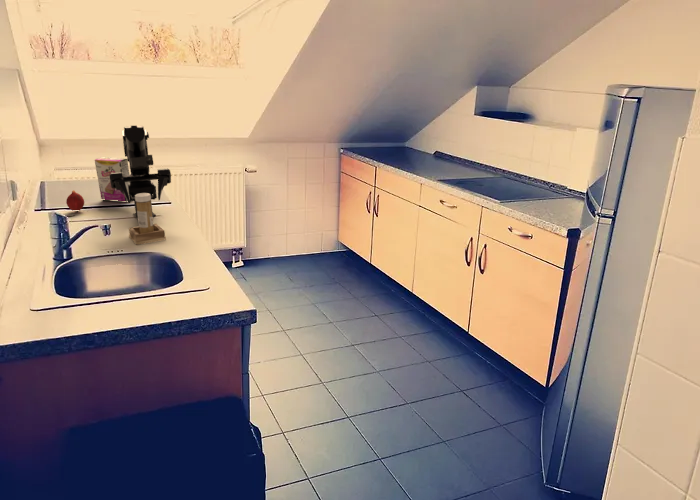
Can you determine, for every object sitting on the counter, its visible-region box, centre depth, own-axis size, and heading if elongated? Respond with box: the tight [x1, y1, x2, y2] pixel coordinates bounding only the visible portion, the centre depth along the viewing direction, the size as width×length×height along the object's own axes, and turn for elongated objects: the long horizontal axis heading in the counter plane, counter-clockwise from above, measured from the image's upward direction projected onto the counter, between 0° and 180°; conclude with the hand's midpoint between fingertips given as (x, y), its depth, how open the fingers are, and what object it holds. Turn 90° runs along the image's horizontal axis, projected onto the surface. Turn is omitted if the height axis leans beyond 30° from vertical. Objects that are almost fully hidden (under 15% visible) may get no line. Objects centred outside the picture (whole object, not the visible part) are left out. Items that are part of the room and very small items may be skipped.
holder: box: [128, 223, 167, 246], centre depth 180 cm, size 9×9×3 cm
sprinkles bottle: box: [135, 193, 154, 234], centre depth 178 cm, size 5×5×13 cm
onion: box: [65, 190, 85, 211], centre depth 205 cm, size 6×6×8 cm
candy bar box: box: [94, 156, 131, 201], centre depth 218 cm, size 11×5×16 cm, turn 77°
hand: (144, 201), depth 184 cm, fingers open, 9 cm apart
